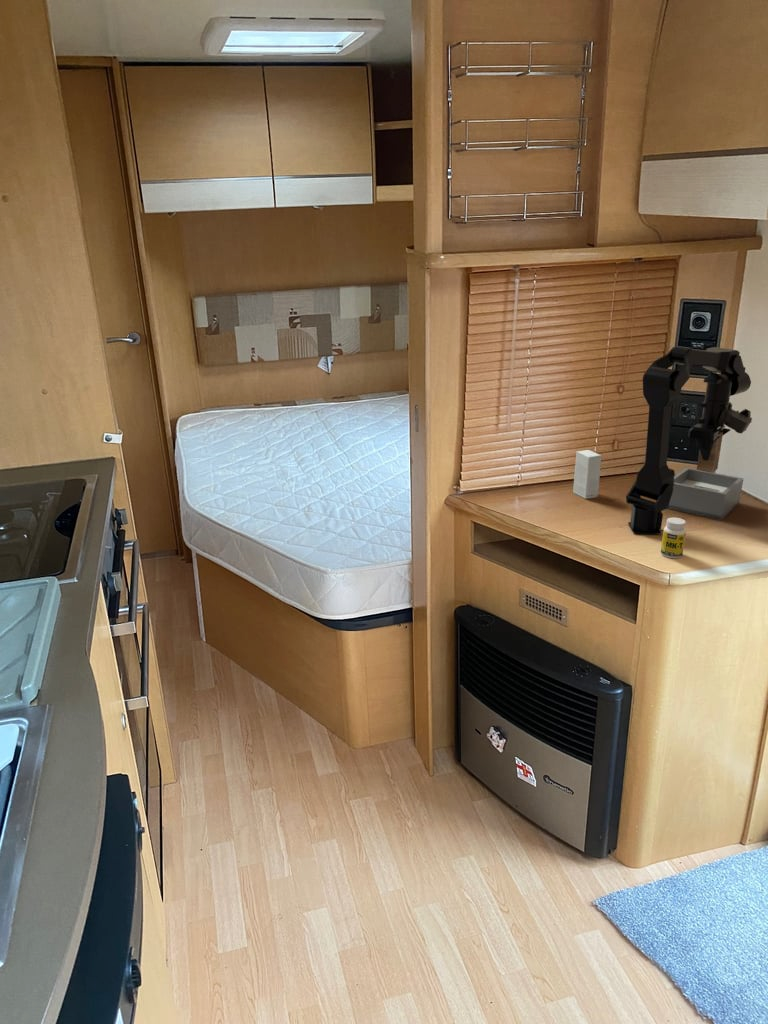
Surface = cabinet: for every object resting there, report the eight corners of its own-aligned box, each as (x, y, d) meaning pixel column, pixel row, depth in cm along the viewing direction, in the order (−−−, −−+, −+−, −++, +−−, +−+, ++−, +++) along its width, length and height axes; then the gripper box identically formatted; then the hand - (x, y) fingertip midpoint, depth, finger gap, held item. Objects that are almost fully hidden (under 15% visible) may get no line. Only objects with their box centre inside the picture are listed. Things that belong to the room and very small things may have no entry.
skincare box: (598, 497, 212) (602, 455, 207) (585, 499, 210) (589, 457, 206) (585, 490, 217) (588, 449, 213) (572, 492, 216) (575, 451, 211)
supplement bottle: (662, 558, 176) (666, 524, 173) (658, 549, 180) (663, 516, 177) (684, 559, 175) (689, 525, 172) (680, 550, 179) (685, 517, 176)
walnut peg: (712, 472, 199) (718, 435, 195) (696, 469, 201) (701, 432, 198) (717, 468, 202) (723, 431, 198) (701, 465, 204) (707, 429, 201)
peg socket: (720, 520, 196) (725, 494, 193) (662, 507, 205) (665, 481, 202) (739, 503, 206) (743, 478, 204) (682, 491, 215) (686, 467, 213)
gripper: (739, 411, 183) (729, 473, 189) (762, 396, 197) (752, 455, 202) (691, 404, 190) (683, 465, 196) (716, 390, 203) (708, 447, 209)
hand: (708, 458), depth 201 cm, fingers closed on walnut peg, 4 cm apart
